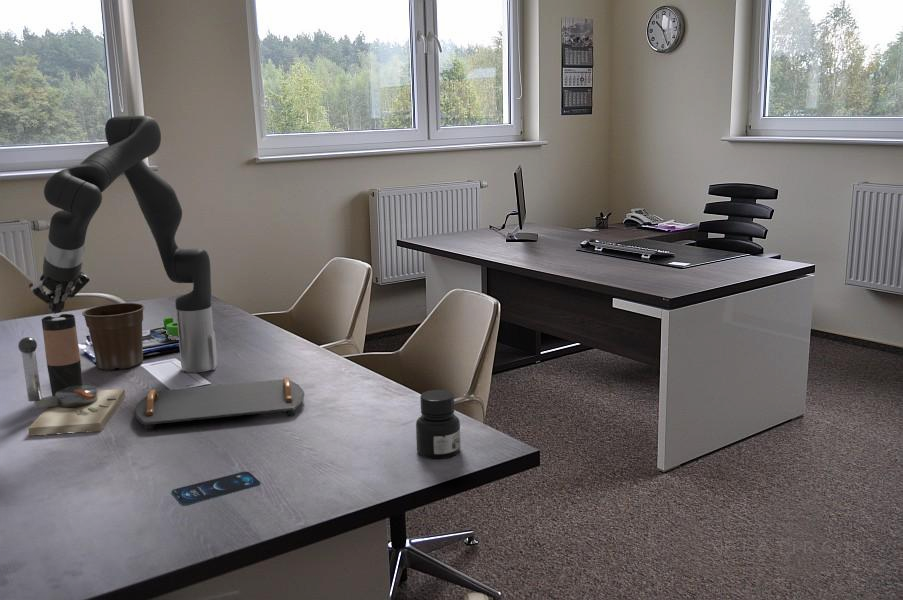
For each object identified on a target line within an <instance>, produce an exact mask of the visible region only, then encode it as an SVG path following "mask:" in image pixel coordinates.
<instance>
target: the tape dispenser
mask: <svg viewBox="0 0 903 600" xmlns="http://www.w3.org/2000/svg"><path fill="white" fill-rule="evenodd" d="M162 321H163V329H164V328H167V334H168V335H175V336H178V325H177V321H174V317H173V316H169V317H165V318H163V320H162Z"/></svg>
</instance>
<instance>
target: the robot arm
mask: <svg viewBox="0 0 903 600" xmlns="http://www.w3.org/2000/svg"><path fill="white" fill-rule="evenodd" d="M104 129H105V131H104V133H105V138H106V142H107V144H108V145H107V146H106V147H103V148H100V149H99V150H96V151H94V152H93V153H90V155H89V156H87V157H86V158H85V159H84V160H83V161H81V162H80V163H79V164H76V165H73V166H69V167H67V168H65V169H64V168H63V169H62V170H58V171H57V172H55V173H54V174H53V175H52V176H50V177H49V179H47V181H46V183H45V185H44V188H43V195H44V198H45V200H46V201H47V203H48V204H50V205H51V206H53V207H55V208H57V209H61V210H58V211H56V212H55V213H53V214H52V216H51V217H50V218H51V219H50V222H49V223H50V224H49V228H48V229H49V231H48V237H47V240H46V243H45V249H44V257H43V263H42V274H41V276H40V278H39V281H38V282H37V283H30V284H29V285H28V287H29V289H30V290H31V292H32V293H33V294H34V296H36V297H37V298H38V299H39V300H41V301H43V302H44V303H46V304H48V305H47V307H48V308H49V310H50V312H51V313H53V314H55V315H56V314H60V313H62V310H64V308H65V304H66V301H67V299H68V298H71V299H72V298H74V297H75V296H76V295H78V293H79V292H80V291H81V290H82V289H83V288H84V287H86V285H87V284H88V283H89V282H90V278H89V277H88V275H87V274H86V273H85V272H84V271H82V267H83V261H84V255H85V249H86V248H85V247H86V246H85V241H86V237H87V232H88V228H89V225H90V223H91V221H92V219H93V218H94V216H95V214H96V213H97V211H98V210H99V208H100V206H101V204H102V202H103V194H102V193H103V192H104V191H105V190H106V189H107V188H109V186H110V185H111V184H113V183H114V181H115V180H117V179H118V177H120V176H121V175H122V174H124V176H125V178H126V179H127V182H128V183H129V186H130V188H131V190H132V191H133V194H134V196H135V199H136V201H137V202H138V203H137V204H138V205H139V208H140V210H141V212H142V213H141V214H142V215H143V218H144V220H145V221H146V224H147V225H148V227H149V230H150V231H151V234H152V237H153V238H154V240H155V244H156V246H157V249H158V252H159V256H160V258H161V262H162V265H163V268H164V271H165V273H166V275H167V277H168V279H169V280H170V281H172V283H177V284H193V287H192V290H191V291H190V292H189V293H185V294H182V295H181V296H178V297H176V299H175V312H176V313H175V314H176V322H177V325H178V336H179V341H178V344H179V345H178V347H179V352H180V353H179V356H180V366H181V370H182V371H181V372H184V371H185V372H184V373H190V372H193V373H196V374H197V373H205V372H208V371H214V370H216V369H217V366H218V356H217V355H218V354H217V352H218V351H217V345H216V344H217V341H216V331H214V323H213V322H214V321H213V309H212V279H211V275H212V273H211V261H210V256H209V254H208V251H207V250H205V249H203V248H179V247H178V245H177V243H176V239H175V238H176V234H177V231H178V229H179V226H180V224H181V222H182V218H183V209H182V206H181V203H180V201H179V199H178V196H177V193H176V191H175V189H174V188H173V186H172V185H171V184H170V183H169V182H168V181H167V180H165V179H164V178H163V177H162V176H161V175H160V174H158V173H157V172H156V171H154V170H153V169H152V168H151V167H149V165H147V164H146V163H145V162H144V160H145V159H147V158H149V157H150V156H152V155H154V154H155V153H156V152H157V151H158V150H159V148H160V147H161V142H162V135H161V130H160V125H159V123H158V121H156V119H155V118H153V117H151V116H147V115H119V116H113V117H111V118H109V119H108V120H107V121H106V122H105V126H104ZM44 288H46V289H47V290H48V293H47V292H46V291H44ZM193 373H192V374H193Z"/></svg>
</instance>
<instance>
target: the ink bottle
mask: <svg viewBox="0 0 903 600" xmlns="http://www.w3.org/2000/svg"><path fill="white" fill-rule="evenodd" d="M420 413H421V416H420V417H418V418H417V419H416V422H415V432H416V434H415V435H416V436H415V437H416V439H415V440H416V451H417V453H418V454H419V455H420V456H423V457H426V458H428V457H431V458H430V459H436V458H441V459H445V458H444V457H448V458H450V457H449V456H451V457H453V456H455V455H457V454H458V453H459V452H460V451H461V421H460V418H459V417H458V416H457V415H455V414H454V413H455V393H453V392H451V391H449V390H444V389H433V390H428V391H424V392H422V393H421V394H420ZM452 455H453V456H452Z"/></svg>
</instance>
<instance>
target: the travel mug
mask: <svg viewBox="0 0 903 600" xmlns="http://www.w3.org/2000/svg"><path fill="white" fill-rule="evenodd" d="M41 325H42V326H41V327H42V333H43V334H42V335H43V341H44V352H45V360H46V366H47V373H48V379H49V386H50V389H51V390H50V391H51V396H54V395H55V394H56V392H57V391H59V390H61V389H64V388H68V387H72V386H80V385H83V375H82V365H81V364H82V363H81V353H80V347H79V338H78V332H77V331H78V330H77V324H76V318H75V315H74V314H70V313H62V314H60V315H58V316H52V315H48V316H44V317H42V318H41Z"/></svg>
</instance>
